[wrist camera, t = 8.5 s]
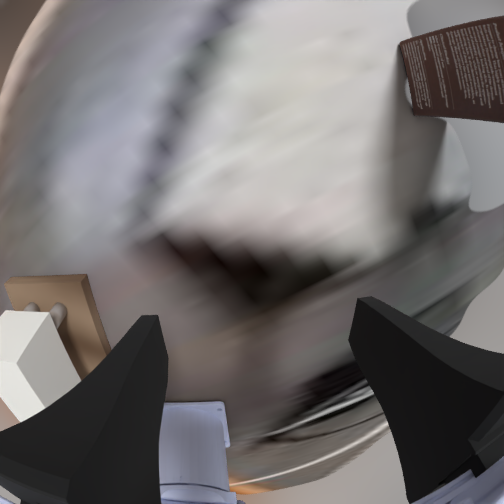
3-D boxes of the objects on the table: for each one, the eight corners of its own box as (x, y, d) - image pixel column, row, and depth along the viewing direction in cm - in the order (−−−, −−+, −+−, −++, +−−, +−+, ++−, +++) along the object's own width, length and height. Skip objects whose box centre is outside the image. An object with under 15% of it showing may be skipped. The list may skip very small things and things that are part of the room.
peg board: (127, 387, 23) (120, 417, 19) (58, 380, 22) (47, 407, 19) (86, 274, 18) (66, 301, 15) (11, 277, 17) (-12, 300, 14)
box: (451, 116, 17) (578, 140, 6) (411, 116, 16) (557, 136, 5) (438, 46, 14) (561, 35, 3) (396, 39, 14) (531, 7, 3)
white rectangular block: (97, 408, 19) (85, 455, 14) (56, 402, 18) (40, 444, 14) (49, 312, 15) (16, 363, 10) (5, 310, 14) (-28, 353, 10)
